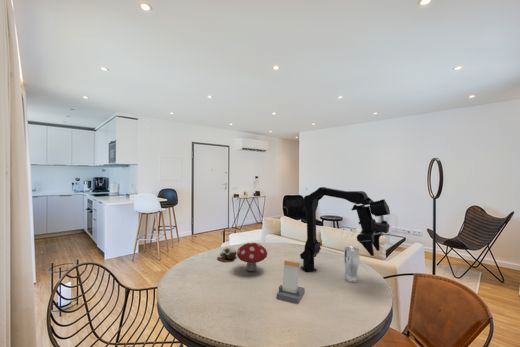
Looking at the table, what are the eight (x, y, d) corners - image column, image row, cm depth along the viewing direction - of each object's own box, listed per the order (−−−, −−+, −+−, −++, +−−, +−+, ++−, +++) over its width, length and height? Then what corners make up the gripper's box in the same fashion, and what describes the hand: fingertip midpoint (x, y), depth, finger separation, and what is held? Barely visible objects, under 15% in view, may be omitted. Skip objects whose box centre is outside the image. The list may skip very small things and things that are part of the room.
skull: (213, 260, 138) (218, 243, 145) (219, 267, 146) (223, 251, 152) (232, 261, 135) (236, 244, 142) (237, 268, 142) (241, 252, 149)
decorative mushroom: (273, 271, 125) (273, 242, 125) (251, 281, 114) (252, 249, 114) (251, 263, 136) (251, 236, 136) (229, 271, 124) (230, 242, 124)
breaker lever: (283, 290, 101) (285, 260, 104) (297, 293, 98) (299, 262, 101) (281, 291, 99) (284, 260, 102) (295, 294, 97) (298, 263, 99)
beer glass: (360, 283, 112) (360, 251, 112) (344, 282, 113) (345, 250, 113) (357, 277, 119) (357, 247, 119) (342, 276, 120) (343, 246, 120)
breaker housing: (284, 288, 107) (284, 279, 107) (304, 292, 103) (304, 283, 103) (276, 298, 98) (276, 288, 98) (298, 303, 94) (298, 293, 94)
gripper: (378, 218, 98) (390, 257, 95) (389, 212, 112) (399, 246, 109) (351, 222, 105) (362, 259, 102) (365, 216, 119) (374, 248, 116)
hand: (375, 253), depth 107 cm, fingers open, 9 cm apart
